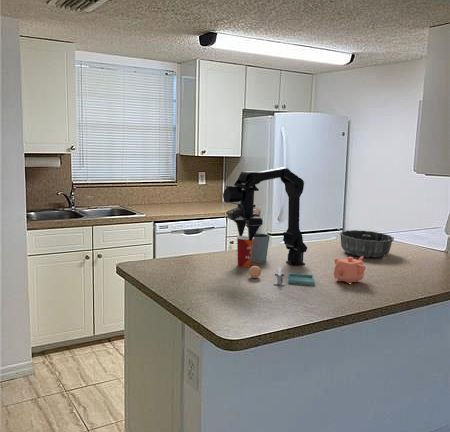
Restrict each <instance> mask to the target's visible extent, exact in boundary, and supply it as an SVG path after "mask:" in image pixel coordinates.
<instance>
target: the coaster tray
mask: <svg viewBox="0 0 450 432" xmlns="http://www.w3.org/2000/svg"><path fill="white" fill-rule="evenodd" d="M287 281H288V282H287V284H288V285H296V286H297V285H298V286H299V285H301V286H311V285H314V286H315V285H316V284H315V277H314V274H309V273H308V274H305V273H295V272H294V273H293V272H292V273H290V272H289V273H288V275H287Z"/></svg>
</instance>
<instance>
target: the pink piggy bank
mask: <svg viewBox="0 0 450 432" xmlns="http://www.w3.org/2000/svg"><path fill="white" fill-rule="evenodd" d="M364 257H365V256H362V257H360V256H359V258H358V259H355V258H354V256H347V257H346V258H341V259H340V258H334V260H333V262H334V265H335V267H334V269H333V270H334V271H333V277H334V279H336V280H339V281H342V282H346V284H347V283H352V284H353V282H354V283H356V282H358V281H359V282H360V281H361V280H363V278H364V275H365V270H366V265H364V262H363V259H364Z"/></svg>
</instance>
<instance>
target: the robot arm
mask: <svg viewBox="0 0 450 432" xmlns="http://www.w3.org/2000/svg"><path fill="white" fill-rule="evenodd" d="M274 179H280V181H281V182H282V183H283V184H284V189H285V192H286V195H287V197H288V201H287V202H288V205H287V206H288V207H287V209H288V214H287V218H288V219H287V220H288V221H287V225H288V226H287V230H286V231H283V233H282V234H283V239H282V241H283V242H284V245H285V248H286V250H288V254H287V260H286V261H285V262H286V263H287V264H289V265H292V266H294V267H295V266H302V265H303V266H304V265H306V262H304V255H305V253H306V252H307V251H308V246H307V245H306V244H305V243H304V240H303V239H304V238H303V234H302V231H301V230H300V207H301V205H300V203H301V202H300V200H301V199H300V198H301V196H302V194H303V192H304V187H305V181H304V180H303V179H302V178H301V177H299V176H298V175H297V174H295V173H294V172H292V171H291V170H290V169H289V168H287V167H282V166H281V167H278V168H272V169H266V170H261V171H251V170H250V171H247V170H242V171H241V172H240V173H239V176H238V178H237V180H236V181H235V182H234V184H233V185H226V187H225V189H224V191H223V194H222V197H223V199H222V200H223V201H224V202H225V203H238V204H237V207H234V208H231V209H229V210H227V211H226V215H227V218H228V220H231V221H233V222H234V223H235V224H236V226H237V232H238V234H239V236H242V235H243V233H245V228H247V232H248V233H247V234H248V236H249V241H251V240H252V239H253V237H254V235H255V233H257V231H258V230H259V228H260V227H261V226H263V223H264V221H263V219H262V218H261V217H259V216H256V214H255V213H254V208H256V207H257V206H256V204H255V192H259V190H260V189H259V188H258V186H256V185H259V184H261V182H263V181H264V182H265V181H268V180H274ZM239 202H240V203H239Z"/></svg>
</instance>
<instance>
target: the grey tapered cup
mask: <svg viewBox="0 0 450 432" xmlns="http://www.w3.org/2000/svg"><path fill="white" fill-rule="evenodd" d="M270 236H271V235H269V234H267V233H260V232H259V233H258V232H256V233H255V235H254V239H253V246H252V256H251V263H258V264H259V263H260V264H261V263H265V262H267V259H268V258H267V256H268V250H269V249H268V248H269V243H270Z"/></svg>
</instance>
